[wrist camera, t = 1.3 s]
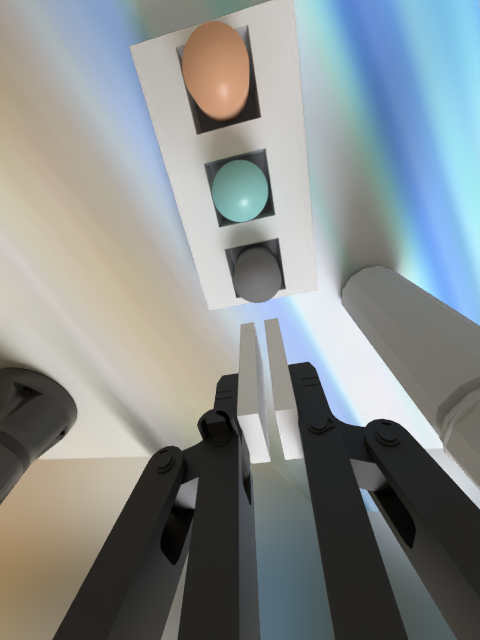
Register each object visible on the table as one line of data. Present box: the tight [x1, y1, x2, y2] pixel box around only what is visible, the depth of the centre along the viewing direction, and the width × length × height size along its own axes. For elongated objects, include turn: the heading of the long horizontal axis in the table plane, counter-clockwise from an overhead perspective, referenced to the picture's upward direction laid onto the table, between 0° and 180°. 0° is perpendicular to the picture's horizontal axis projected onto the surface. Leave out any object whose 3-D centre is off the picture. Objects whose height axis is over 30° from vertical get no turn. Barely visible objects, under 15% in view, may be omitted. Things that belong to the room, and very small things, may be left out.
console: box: [129, 0, 318, 310], centre depth 26 cm, size 12×22×5 cm, turn 12°
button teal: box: [212, 160, 268, 222], centre depth 23 cm, size 4×4×5 cm
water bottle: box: [342, 265, 480, 490], centre depth 22 cm, size 9×8×25 cm
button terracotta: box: [182, 21, 249, 123], centre depth 20 cm, size 4×4×5 cm
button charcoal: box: [233, 244, 281, 303], centre depth 27 cm, size 4×4×5 cm
